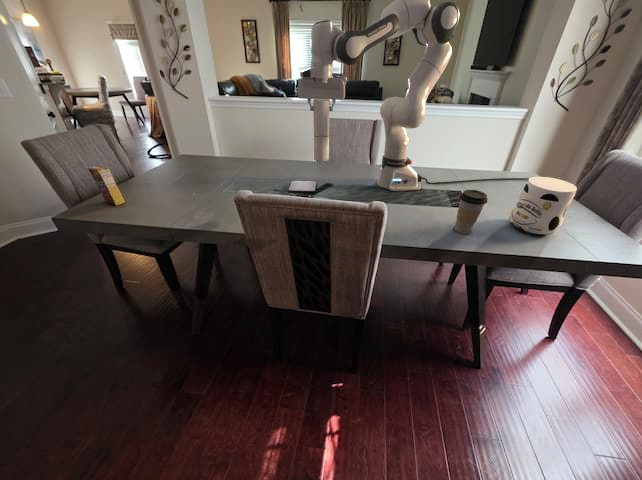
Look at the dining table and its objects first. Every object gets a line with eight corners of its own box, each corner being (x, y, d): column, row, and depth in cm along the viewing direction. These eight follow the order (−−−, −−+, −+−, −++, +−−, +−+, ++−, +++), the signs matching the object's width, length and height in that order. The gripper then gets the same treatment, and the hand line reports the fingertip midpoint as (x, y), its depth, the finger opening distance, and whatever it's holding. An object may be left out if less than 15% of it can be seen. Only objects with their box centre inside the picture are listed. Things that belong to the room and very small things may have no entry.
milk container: (502, 230, 111) (522, 185, 100) (508, 214, 122) (527, 172, 111) (554, 243, 103) (582, 197, 92) (555, 225, 115) (580, 181, 104)
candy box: (104, 201, 127) (86, 167, 117) (114, 198, 130) (97, 164, 120) (115, 206, 123) (98, 171, 114) (125, 202, 126) (109, 168, 117)
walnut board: (316, 183, 148) (316, 181, 147) (314, 193, 137) (314, 191, 137) (292, 182, 148) (292, 180, 147) (288, 192, 138) (288, 190, 137)
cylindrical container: (329, 157, 139) (330, 98, 124) (327, 161, 134) (329, 101, 118) (315, 156, 140) (314, 98, 124) (313, 161, 134) (312, 100, 119)
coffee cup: (468, 224, 114) (481, 188, 105) (479, 236, 107) (494, 199, 98) (446, 224, 114) (457, 188, 105) (455, 236, 106) (467, 199, 97)
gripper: (346, 73, 118) (344, 110, 126) (298, 71, 118) (299, 109, 127) (346, 73, 113) (344, 112, 121) (296, 72, 113) (297, 111, 122)
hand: (321, 110), depth 124 cm, fingers closed on cylindrical container, 7 cm apart
